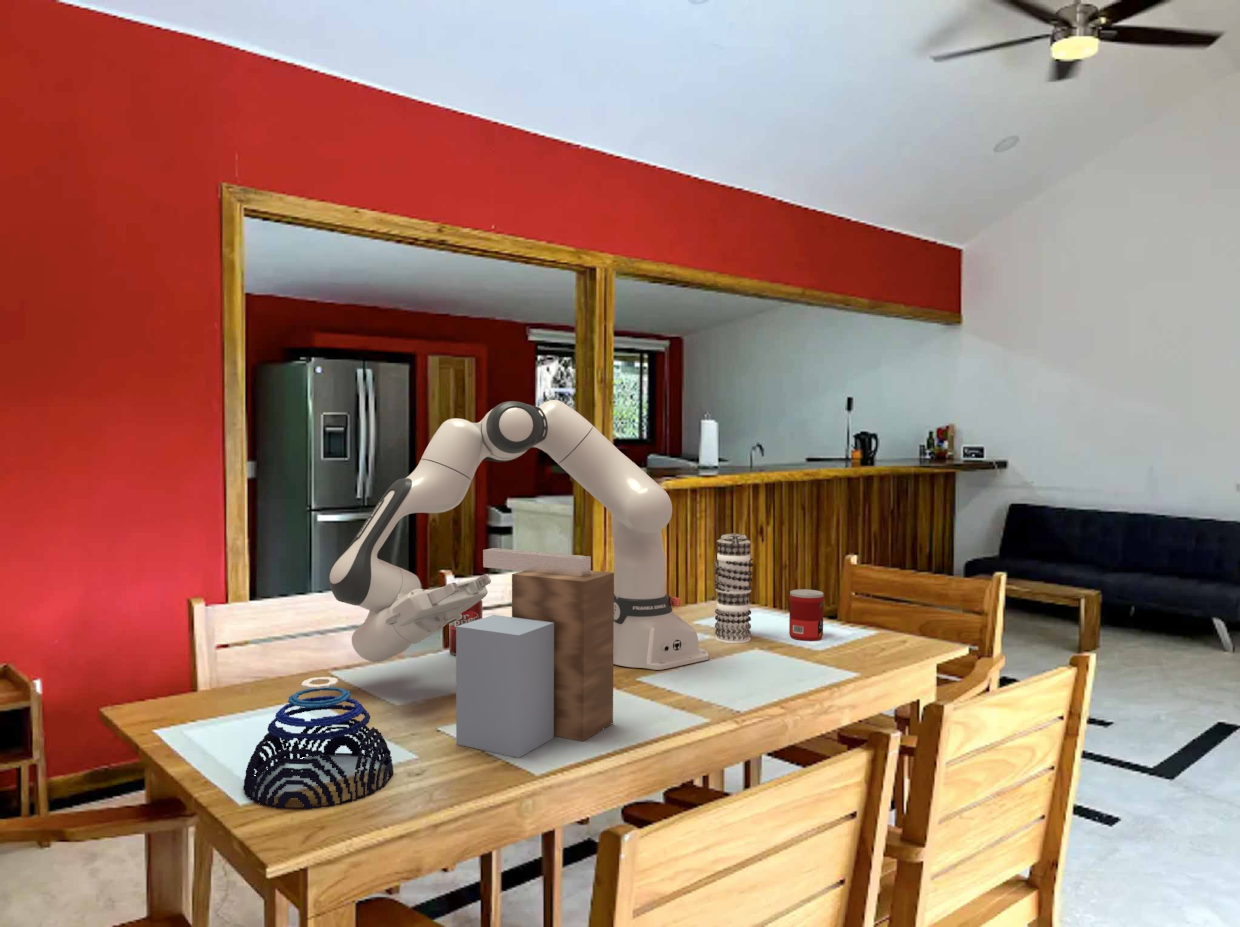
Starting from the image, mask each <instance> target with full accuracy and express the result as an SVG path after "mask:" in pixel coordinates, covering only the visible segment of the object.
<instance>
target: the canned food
mask: <svg viewBox="0 0 1240 927" xmlns="http://www.w3.org/2000/svg"><path fill="white" fill-rule="evenodd" d="M789 592H790V593H789V619H788V620H789V621H788V622H789V629H788V630H789V632H788V633H789V636H790V638H791V639H793V640H795V641H796V640H797V641H802V642H803V641H805V642H817V641H820V640H822V639H823V636H824V611H825V610H824V609H825V608H824V601H825V600H824V599H825V598H824V597H825V595H824V592H823V591H820V590H817V589H816V590H815V589H806V588H805V589H793V590H790V591H789Z"/></svg>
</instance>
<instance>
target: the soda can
mask: <svg viewBox="0 0 1240 927" xmlns="http://www.w3.org/2000/svg"><path fill="white" fill-rule="evenodd" d="M482 618H483V599H482V600H480V601H479V602H477V603H476V604H475V605H473V606H472V607H470V608H469V609H467V610H466V611H464V612H463V613H461V614H460V618H459V619H457V620H455V621H453V622H452V623H449V624H448V626H449V627H448V630H449V632H448V637H449V640H448V641H449V642H448V643H449V647H448V650H449V652H450V654H451V655H453V656H456V626H459V625H462V624H466V623H469V622H472V621H475V620H478V619H482Z"/></svg>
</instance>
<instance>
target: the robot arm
mask: <svg viewBox="0 0 1240 927" xmlns="http://www.w3.org/2000/svg"><path fill="white" fill-rule="evenodd" d="M531 448H535V449H536V448H537V449H539V450H541V451H543V452H544V453H546V454H547V455H548V456H549V457H550V458H551V459H552V460H554V462H555V463H557V465H558V466H560V467H561V468H562V469H563V470H564V471H565V472H566V473H567V474H568V475H569V476H570V477H572V478H573V480H574V481H576V482H577V483H578V484H579V485H580V486H581V487H582V488H583V489H584V490H586V492H588V493H589V494H590V495H591V496H592V497H593V498H594V499H596V501H598V502H599V504H601V505H602V506H603V507H604V508H606V509H607V510H608V511H609V512H610V513H611V515H610V516H611V529H612V531H611V532H612V544H613V545H612V546H613V554H614V557H613V558H614V645H613V665H616V666H621V667H627V668H639V669H641V668H642V669H648V670H655V671H656V670H657V671H661V670H665V669H666V670H667V669H671V668H675V667H680V666H685V665H689V664H693V663H694V664H695V663H699V662H704V661H708V660H709V659H710V656H709V655H710V654H709V652H708V651H707V650H706V649H704V648H701V647H700V644H699V637H698V633H697V631H696V629H695V628H694V627H693V626H692V625H691V624H690V623H688V622H687V621H686V620H684V619H683V618H682V617H681V616H679V614H676V612H674V611H673V607H675V608H680V607H681V605H682V603H683V601H682V599H681V598H679V597H676V596H670V595H668V594H667V593H666V574H667V572H666V568H667V567H666V563H667V562H666V561H667V558H666V555H665V548H664V541H663V532H662V530H663V529H664V528H666V527H667V525H668V524H669V523H670V521H671V519H672V516H673V505H672V500H671V497H670V495H669V494H668V493H667V491H666V490H665V489H664V488H663V487H662V486H660V484H658V483H657V482H656V481H655V479H653V478H652V477H650V476H649V475H648V474H647V473H646V472H645V471H644V470H643V469H641V467H640V466H638V465H637V464H636V463H635V462H634V461H632V460H631V459H630V458H629V457H628V456H626V455H625V454H624V453H622V451H620V450H619V449H618V447H616V446H615V445H614V444H613V443H612V442H611V441H610V440H609V439H608V437H607V436H605V435H604V434H603V433H601V432H600V431H599V430H598V428H596V426H594V425H593V424H592V423H591V422H590V421H589V420H587V419H586V417H584V416H583V415H581V413H579V412H578V411H576V410H575V409H573V408H572V407H571V406H569V405H568V404H566V403H564V402H562V400H558V399H551V400H550V399H549V400H547V401H545V402H543V403H541V404H540V405H539V406H536V405H531V404H527V403H525V402H521V401H516V400H515V401H514V400H512V401H511V400H509V401H504V402H501V403H499V404H497V405H496V406H495V407H493V408H492V409H490V411H488V412H487V413H486V414H485V416H484V417H483V418H482V419H481V420H480V421H479V422H471V421H470V420H467V419H464V418H455V417H454V418H448V419H447V420H445V421H444V422H442V423H441V425H440V426H439V427H438V429H437V430H436V432H435V433H434V434H433V436H432V437H431V439H430V441H429V443H428V445H427V447H426V448H425V450H424V452H423V454H422V456H421V459H420V460H419V462H418V465H417V466H416V467H415V468H414V470H413V471H412V472H411V473H410V474H409V475H407V477H403V478H399V479H397V480H395V481H394V482H393V483H392V484H391V485H390V486H389V487H388V488H387V490H386V491H385V493H384V494H382V496H381V498H380V500H379V501H378V503H377V504H376V505H375V507H374V508H373V510H371V511H372V512H371V513H370V514H369V516H368V518H367V519H366V520H365V521H364V523H363V525H362V526H361V528H360V529H359V531H358V532H357V534H356V535H355V536H354V539H353V540H352V541H351V543H350V544H349V545H348V546H347V547H346V548H345V549H344V551H343V552H341V555H339V556H338V558H337V559H336V561H334V563H333V565H332V567H331V569H330V570H329V574H328V584H329V588H330V590H331V593H332V595H333V596H334V598H335V599H336V601H338V602H340V603H345V604H348V605H352V606H358V607H360V608H362V609H365V610H368V611H369V612H368V614H367V615H366V616H367V617H366V619H365V620H364V622H363V623H362V624H361V625H359V626H358V627H357V628H356V629H355V630H354V632H353V633H352V635H351V644H352V647H353V649H354V650H355V652H356V654H357V655H358V656H359V657H360V658H362V659H364V660H365V661H368V662H371V663H381V662H384V661H387V660H390V659H392V658H394V657H396V656H398V655H400V654H402V653H403V652H405V651H407V650H408V649H409V648H410V647H411V645H412V644H418V643H420V642H422V641H424V640H425V639H427V638H429V637H431V636H432V635H434V634H435V633H437V632H438V631H440V630H441V629H442V628H443V627H445V626H447V625H449V623H452V622H453V621H455V620H457V619H459V618H460V614H461V613H463V612H464V611H466V610H467V609H469V608H470V607H472V606H473V605H475V604H476V603H477V602H479V601H480V600H482V601H483V599H484V598H485V597H486V596H487V595H488V589H487V586H488V585H490V584H491V583H492V580H491V577H490V576H489V574H488V573H486V574H482V575H480V576H479V577H476V578H473V579H469V580H465V581H460V582H451V583H450V582H449V583H447V584H446V585H444V586H442V587H437V588H433V589H423V585H422V582H421V580H420V578H419V576H418V575H417V574H415V573H413V572H411V571H409V570H406V569H405V568H402V567H400V566H397V565H394V564H391V563H390V562H387V561H385V560H382V559H379V558H378V554H379V551H380V549H381V548H382V547H383V545H384V544H385V542H386V541H387V540H388V538H389V536H390V534H391V533H392V531H393V530H394V528H395V527H396V525H397V524H398V522H399V521H400V520H401V519H403V518H404V517H406V516H407V515H410V514H417V513H418V514H419V513H421V514H422V513H424V514H440V513H446V512H448V511H451V510H453V509H454V508H456V507H457V506H459V505H460V504H461V503H462V501H463V500H464V498H465V497H466V494H467V493H468V491H469V488H470V486H471V483H472V481H473V478H474V476H475V473H476V471H477V469H478V467H479V466H480V464H481V463H482V462H483V461H489V462H495V463H505V462H510V461H512V460H515V459H518V458H519V457H521V456H523V454H525V453H526V452H527V451H528V450H529V449H531Z"/></svg>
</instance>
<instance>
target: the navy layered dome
mask: <svg viewBox="0 0 1240 927" xmlns="http://www.w3.org/2000/svg"><path fill="white" fill-rule="evenodd" d="M314 682H315V683H316V682H327V683H320V684H317V683H316V684H315V683H314ZM338 683H339V679H338V678H337V677H331V676H320V677H316V676H314V677H311V678H308V679H305V680H303V681H302V682H301V683H300V687H301V688H305V689H303V690H300V691H298V690H297V691H296V692H295V693H294V694H291V695H290V696H289V697H288V700H287V701H288V703H286V704H284V706H283V707H281V708H280V709H279V710H278V711H277V712H276V713H275V717H274V719H273V720H271V722H270V723H269V724H268V726H267V732H268V733H266V734H265V735H264V736H263V738H262V740H261V741H259V742H258V744H256V745H255V750H254V751H253V753H252V754H251V756H250V758H249V761H248V762H247V766H246V770H245V776H244V779H243V783H244V784H243V789H242V790H243V791H244V795H245V796H246V798H247V797H249V798H248V799H249V801H253V802H254V803H255V804H259V803H260V804H259V805H260V806H261V805H262V806H263V807H264V806H265V807H268V808H269V807H270V808H272V809H273V808H275V809H277V810H278V809H279V810H280V809H281V810H282V809H283V810H312V809H318V810H319V809H320V808H321V809H322V808H330V807H335V806H336V805H337V806H338V805H339V806H342V805H345V804H347V803H352V802H357V801H358V800H361V799H364V798H365V799H366V797H367V796H372V795H374V794H375V792H377V791H381V789H385V787H386V786H387V784H388V783H389V781H390V780H391V779H392V778H393V775H394V766H393V759H392V758H393V757H392V756H391V750H390V748H389V746H388V743H387V741H386V740H385V738H384V735H382V732H381V731H379V729H378V728H375V727H374V726H372V727H371V728H369V727H368V726H367V725H368V724H369V723H370V720H371V715H370V712H368V711H367V709H365V707H363V706H364V705H363V704H362V703H360V702H359V701H358V700H357V699H354V698H351V696H352V694H351V691H349V690H347V689H344V688H341V687H336V685H337V684H338ZM320 691H322V692H323V691H326V692H327V691H332V692H333V691H335V692H338V693H340V694H341V695H339V696H338V695H336V696H335V695H324V696H315V697H306V698H302V699H300V698H299V697H300V696H302V695H303V694H309V693H311V692H312V693H313V692H320ZM344 702H345V703H350V704H353V705H354V706H352V705H349V704H347V705H343V704H342V703H344ZM293 707H299V708H296V709H291V710H289V711H287V710H288V709H290V708H293ZM322 710H325V711H326V710H343V711H345V712H344V713H341V714H336V715H330V716H321V717H317V718H310V720H306V719H305V718H300V717H294V715H295V714H296V715H298V714H302V713H305V712H306V713H307V712H308V713H309V712H312V711H313V712H315V711H322ZM346 711H347V712H346ZM361 715H363V716H364V717H363V718H362V719H361V720H357V719H356V718H358V717H359V716H361ZM277 722H278V723H280V724H282V725H286V726H290V727H296V728H298V727H299V728H303V727H304V728H303V729H302V731H300V732H291V731H286V729H284V727H283V726H279V727H278V725H277V724H276V723H277ZM311 730H312V731H311ZM310 731H311V732H310ZM309 732H310V733H309ZM354 738H355V739H354ZM294 739H296V740H295V741H294ZM291 741H294V742H293V745H292V743H291ZM303 741H304V743H302V742H303ZM325 742H326V744H324V743H325ZM316 744H317V746H315V745H316ZM323 744H324V745H323ZM301 745H302V747H300V746H301ZM309 745H311V747H309ZM322 746H323V750H321V747H322ZM264 747H266V748H268V750H270V753H271V755H270V753H269V752H268V750H267V749H266V748H264ZM341 747H346V748H347V749H348V750H349V752H348V753H347V752H336V751H338V750H339V748H341ZM290 748H291V750H290ZM314 748H315V749H314ZM313 749H314V750H313ZM363 751H364V752H363ZM261 754H263V756H262V755H261ZM335 754H336V755H335ZM291 755H292V758H291ZM298 755H299V756H298ZM309 756H312V757H311V758H310V757H309ZM333 756H350V757H357V759H356V764H355V767H354V770H355V772H353V774H354V776H353V780H352V784H354V786H355V787H354V793H355V795H353V791H352V790H351V785H352V784H351V782H349V778H347V777H348V776H347V774H345V773H346V772H345V770H344V769H343V768H342V767H341V766H340V765H339V764H338V763H337V762H336V761H335V760H334V759H333ZM302 757H309V758H303V759H300V758H302ZM314 757H315V758H314ZM316 757H317V758H316ZM318 757H319V758H318ZM264 758H265V759H264ZM319 759H320V760H319ZM369 759H371V760H370V761H369V766H368V767H367V764H368V760H369ZM363 760H364V761H363ZM321 761H325V763H329V765H331V768H327V769H326V765H325V764H322V762H321ZM376 762H378V763H379V765H378V768H375V767H376ZM286 764H288V765H309V764H311V767H313V769H312V768H309V767H301V768H294V767H285V766H286ZM383 765H384V766H385V767H384V771H383V773H382V782H381V785H380V776H381V771H382V768H383ZM282 766H284V767H282ZM280 767H281V769H280V770H279V771H278V772H277V774H276V773H275V775H273V776H272V773H273V772H276V770H278V768H280ZM361 768H362V769H361ZM266 769H268V770H266ZM314 769H315V770H314ZM316 769H317V771H321V773H323V775H325V777H329V783H333V787H335V793H337V799H339V802H336V801H335V800H334V795H333V794H332V791H331V790H330V786H328V785H327V784H326V783H325V782H324V781H323V780H322V779H321V778H320V776H321V774H320V773H319V772H317V771H316ZM332 769H335V771H337V775H339V777H341V779H343V785H345V789H346V790H347V792H346V793H347V795H349V798H347V799H343V793H344V791H343V790H344V788H343V786H342V783H341V782H340V781H339V780H338V777H337V776H336V775H335V774H334V773H333V772H332ZM376 771H377V773H376ZM262 772H263V773H262ZM366 772H367V779H366V781H365V778H366V777H365V774H366ZM254 775H256V776H254ZM358 775H359V777H358V780H357V776H358ZM268 776H272V778H271V779H269V781H267V778H268ZM259 777H260V778H259ZM293 777H299V779H293ZM258 779H259V781H258ZM284 779H285V780H284ZM304 779H309V781H311V784H309V783H308V782H307V781H305V782H304ZM282 780H284V781H283V783H281V781H282ZM265 781H267V783H265ZM278 782H279V785H277V786H276V787H275V789H273V791H271V794H270V790H272V788H273V787H274V786H275V785H276V784H278ZM359 782H360V788H362V794H360V795H359V788H358V787H359V784H358V783H359ZM312 783H315V785H317V787H318V788H319V789H320V790H321V793H320V792H319V791H318V790H317V789H316V788H315V787H314V786H312ZM287 785H288V786H298V785H299V786H302V787H303V788H306V789H307V790H308V792H312V796H314V799H315V800H316V805H313V803H311V799H309V795H307V793H303V791H288V790H287V791H283V792H282V793H281V794H280V795H279V796H278V797H277V802H276V803H275V797H276V796H277V795H278V794H279V791H282V790H283V789H285V787H287ZM373 785H374V786H375V788H373ZM262 786H263V789H262V791H261V792H260V794H259V791H260V790H261V787H262ZM366 791H367V792H368V793H367V794H366ZM259 795H260V796H259ZM320 795H321V796H320ZM322 795H323V797H325V803H327V804H326V805H324V804H323V801H322V799H323V797H322ZM354 796H355V797H354ZM353 797H354V798H355V799H354V798H353ZM291 799H297V801H299V803H301V805H303V806H302V807H297V806H296V807H295V806H294V807H293V806H292V807H291V806H286V804H288V802H289V801H291ZM266 802H267V803H266Z"/></svg>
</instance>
